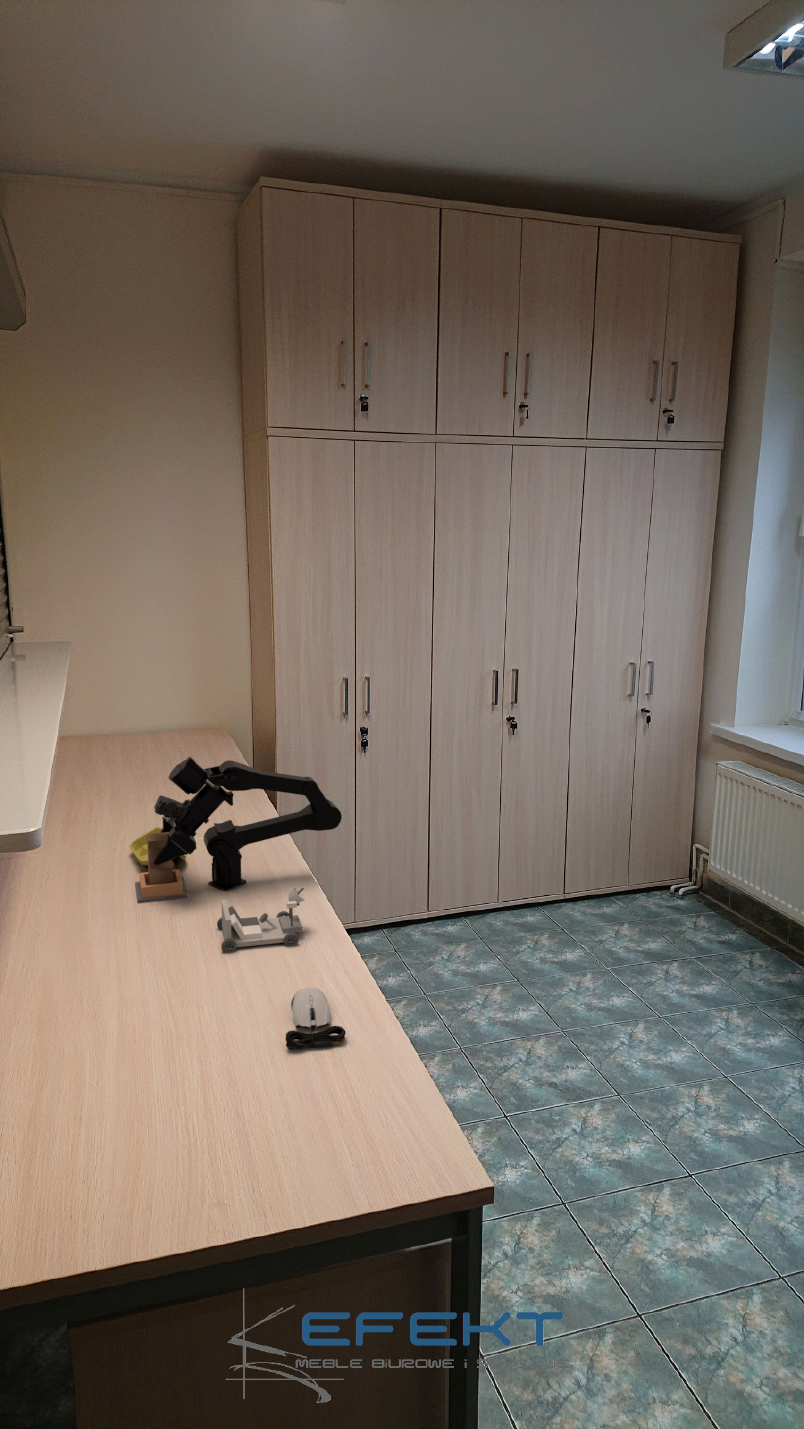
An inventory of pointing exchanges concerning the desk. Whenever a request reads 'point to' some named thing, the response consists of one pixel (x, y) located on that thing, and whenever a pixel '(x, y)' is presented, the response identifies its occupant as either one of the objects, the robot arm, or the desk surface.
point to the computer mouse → (312, 1021)
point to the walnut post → (155, 845)
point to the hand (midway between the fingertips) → (153, 857)
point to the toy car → (260, 926)
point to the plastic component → (144, 847)
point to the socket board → (160, 888)
